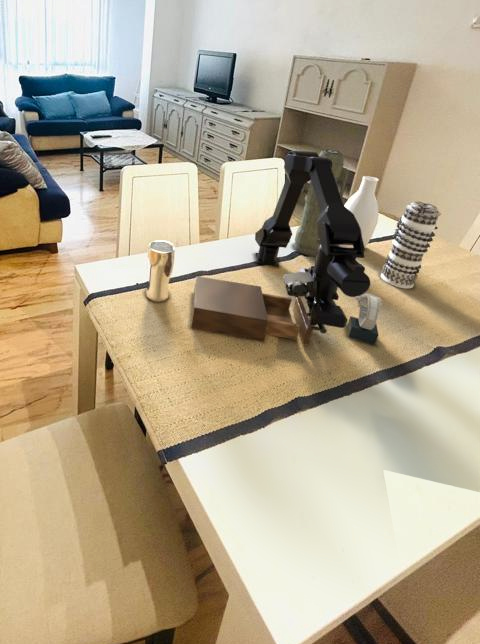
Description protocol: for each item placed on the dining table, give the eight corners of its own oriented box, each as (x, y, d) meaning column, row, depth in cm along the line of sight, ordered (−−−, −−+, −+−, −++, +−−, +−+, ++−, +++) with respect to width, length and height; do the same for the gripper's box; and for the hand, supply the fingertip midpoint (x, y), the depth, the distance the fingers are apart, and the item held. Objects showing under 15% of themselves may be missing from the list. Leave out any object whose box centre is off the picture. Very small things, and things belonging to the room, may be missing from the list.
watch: (371, 328, 96) (384, 292, 92) (375, 350, 89) (390, 311, 85) (346, 321, 98) (358, 285, 94) (348, 341, 91) (361, 303, 87)
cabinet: (256, 305, 102) (260, 286, 100) (263, 341, 90) (268, 320, 87) (193, 294, 105) (196, 275, 103) (191, 328, 93) (194, 307, 90)
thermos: (327, 259, 126) (357, 157, 114) (289, 251, 130) (313, 151, 117) (324, 247, 134) (352, 150, 121) (288, 240, 138) (311, 145, 125)
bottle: (375, 254, 131) (398, 184, 122) (342, 252, 131) (363, 183, 122) (356, 238, 142) (377, 173, 132) (326, 237, 142) (345, 171, 132)
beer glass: (173, 291, 106) (179, 243, 100) (165, 305, 100) (170, 255, 94) (149, 284, 109) (154, 237, 103) (140, 297, 103) (144, 248, 97)
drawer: (314, 313, 99) (318, 300, 97) (328, 348, 87) (333, 333, 86) (235, 300, 102) (238, 286, 101) (238, 332, 91) (241, 317, 89)
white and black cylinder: (383, 268, 123) (408, 196, 114) (418, 281, 117) (447, 206, 108) (375, 279, 117) (401, 203, 108) (411, 293, 111) (442, 214, 102)
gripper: (283, 244, 97) (271, 296, 103) (298, 286, 80) (283, 345, 86) (331, 251, 95) (316, 303, 101) (356, 296, 78) (337, 355, 84)
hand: (312, 324), depth 93 cm, fingers closed, pressing on drawer
